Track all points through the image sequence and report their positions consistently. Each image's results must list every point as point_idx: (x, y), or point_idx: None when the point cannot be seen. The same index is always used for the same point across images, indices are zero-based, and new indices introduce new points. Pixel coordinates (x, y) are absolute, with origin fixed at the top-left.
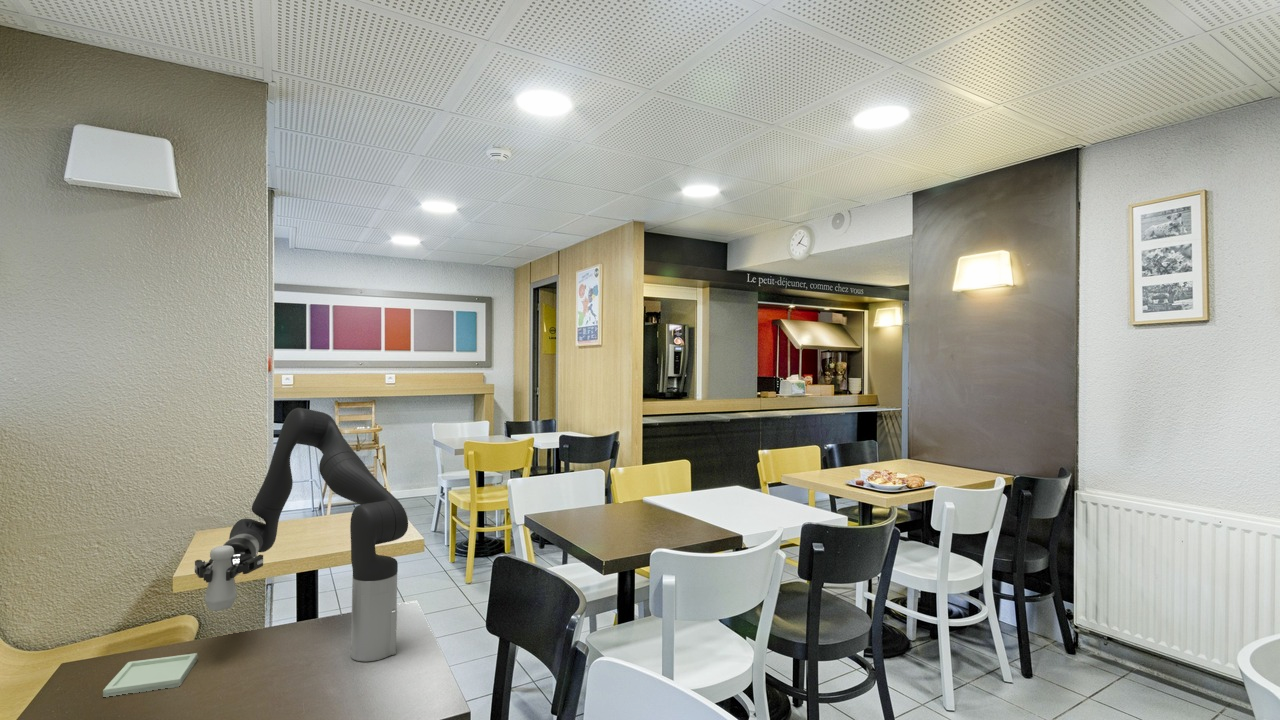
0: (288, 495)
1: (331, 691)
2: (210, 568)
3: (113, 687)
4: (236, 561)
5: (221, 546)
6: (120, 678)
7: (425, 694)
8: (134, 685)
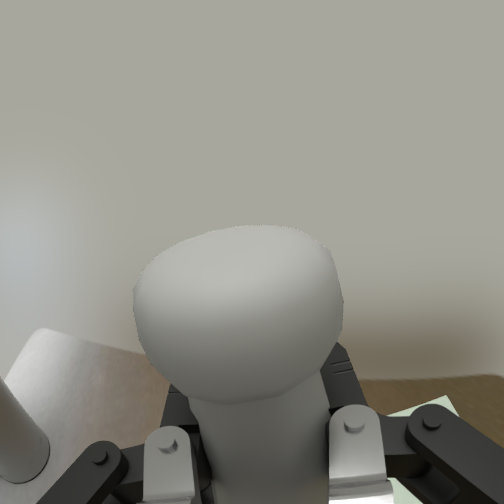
0: None
1: (100, 377)
2: (334, 384)
3: (436, 402)
4: (166, 497)
5: (237, 251)
6: None
7: (39, 348)
8: (404, 410)
